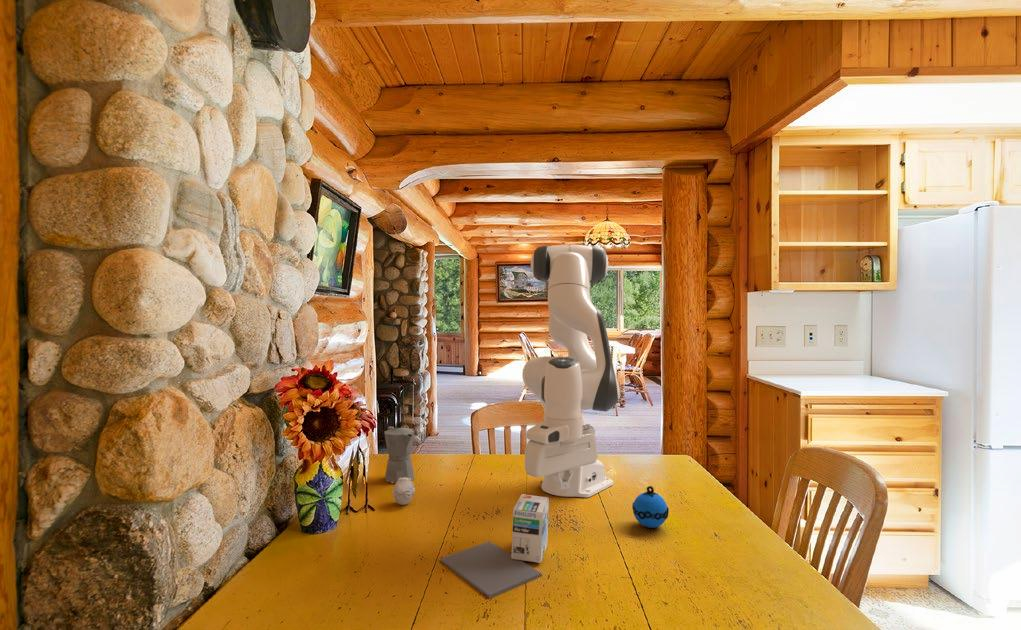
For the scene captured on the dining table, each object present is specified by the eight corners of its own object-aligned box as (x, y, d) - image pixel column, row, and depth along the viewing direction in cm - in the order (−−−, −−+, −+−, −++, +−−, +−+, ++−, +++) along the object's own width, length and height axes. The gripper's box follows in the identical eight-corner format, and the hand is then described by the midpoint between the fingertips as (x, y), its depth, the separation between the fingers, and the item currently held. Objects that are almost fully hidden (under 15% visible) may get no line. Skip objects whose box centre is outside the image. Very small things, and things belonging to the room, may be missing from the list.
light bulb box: (541, 564, 111) (543, 512, 111) (510, 559, 113) (512, 509, 113) (547, 543, 122) (549, 496, 122) (519, 539, 123) (521, 493, 123)
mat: (489, 543, 122) (489, 541, 121) (541, 576, 107) (541, 573, 107) (440, 561, 114) (440, 558, 113) (489, 598, 99) (489, 595, 99)
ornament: (625, 527, 130) (626, 486, 130) (643, 516, 137) (643, 478, 136) (658, 537, 125) (658, 495, 124) (674, 526, 131) (674, 486, 131)
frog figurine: (418, 499, 149) (417, 474, 148) (410, 509, 142) (410, 483, 142) (396, 498, 149) (396, 474, 149) (388, 508, 142) (388, 482, 142)
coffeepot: (424, 480, 164) (424, 422, 163) (398, 488, 157) (397, 428, 157) (397, 469, 175) (397, 415, 174) (371, 476, 168) (371, 419, 168)
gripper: (584, 421, 131) (584, 476, 131) (520, 432, 119) (520, 494, 119) (603, 425, 126) (603, 483, 126) (539, 437, 114) (538, 502, 114)
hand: (562, 488), depth 122 cm, fingers closed
